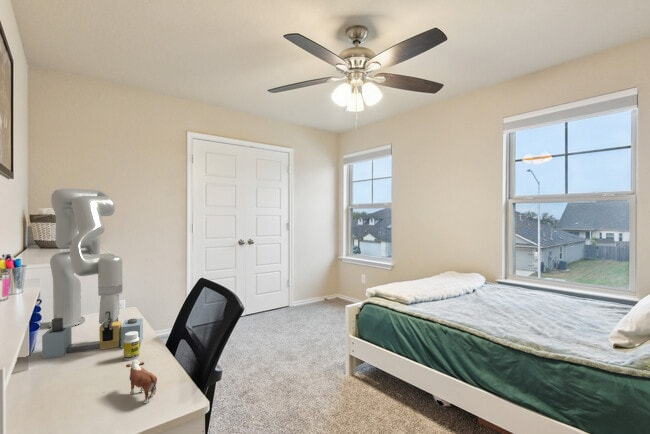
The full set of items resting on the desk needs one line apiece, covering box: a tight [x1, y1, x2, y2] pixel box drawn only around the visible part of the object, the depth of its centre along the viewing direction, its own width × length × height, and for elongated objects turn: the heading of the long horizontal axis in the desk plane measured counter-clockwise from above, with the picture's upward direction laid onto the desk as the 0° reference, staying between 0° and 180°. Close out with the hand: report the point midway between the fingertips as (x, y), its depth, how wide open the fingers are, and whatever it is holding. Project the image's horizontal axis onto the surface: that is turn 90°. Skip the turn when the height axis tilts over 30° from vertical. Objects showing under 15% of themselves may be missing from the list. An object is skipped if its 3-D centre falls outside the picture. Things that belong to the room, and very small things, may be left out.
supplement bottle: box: [123, 331, 140, 361], centre depth 114 cm, size 5×5×8 cm
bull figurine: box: [125, 359, 158, 404], centre depth 92 cm, size 4×13×8 cm, turn 51°
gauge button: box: [51, 318, 63, 332], centre depth 117 cm, size 3×3×4 cm
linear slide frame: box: [41, 318, 144, 360], centre depth 121 cm, size 8×29×9 cm, turn 112°
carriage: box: [98, 320, 122, 350], centre depth 123 cm, size 5×6×8 cm
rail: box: [66, 338, 121, 354], centre depth 121 cm, size 3×17×2 cm, turn 112°
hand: (110, 335), depth 123 cm, fingers open, 9 cm apart
